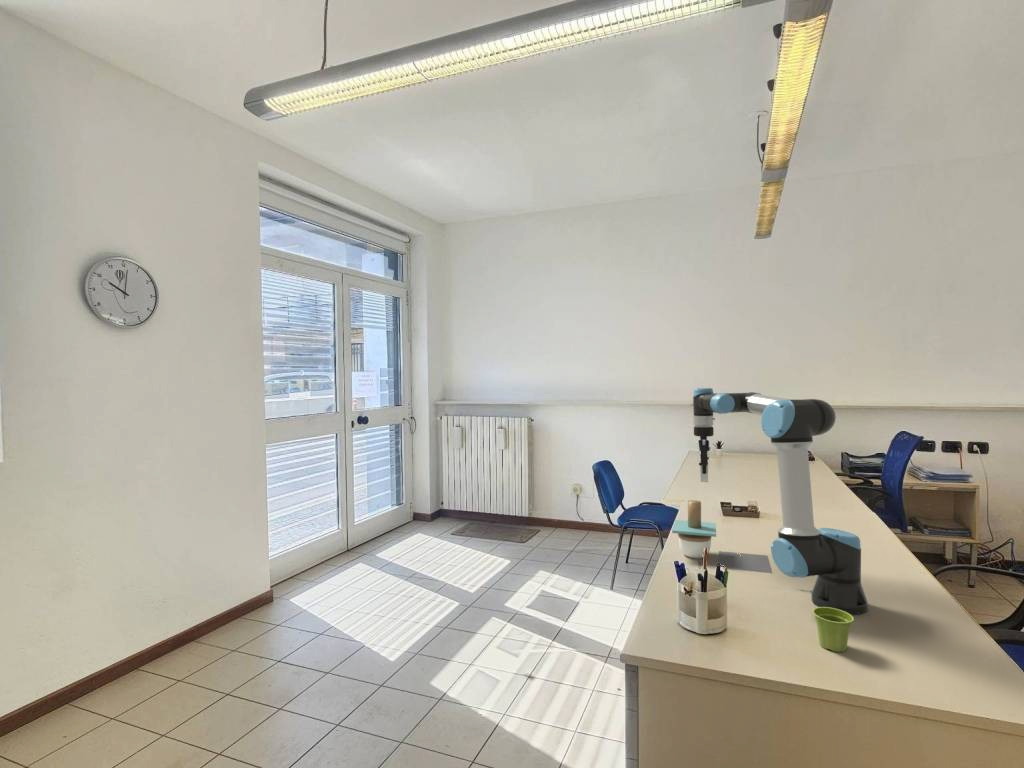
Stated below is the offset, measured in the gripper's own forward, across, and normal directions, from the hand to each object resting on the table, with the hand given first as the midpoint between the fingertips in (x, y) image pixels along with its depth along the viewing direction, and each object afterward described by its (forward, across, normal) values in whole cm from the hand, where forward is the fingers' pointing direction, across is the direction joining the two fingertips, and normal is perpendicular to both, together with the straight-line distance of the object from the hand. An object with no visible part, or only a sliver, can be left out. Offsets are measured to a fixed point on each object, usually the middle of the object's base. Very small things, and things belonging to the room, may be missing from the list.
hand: (704, 478), depth 219 cm
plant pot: (+31, -68, -31) cm, 81 cm away
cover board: (+20, -4, +4) cm, 20 cm away
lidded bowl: (+31, -4, +4) cm, 31 cm away
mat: (+31, -7, -14) cm, 34 cm away
